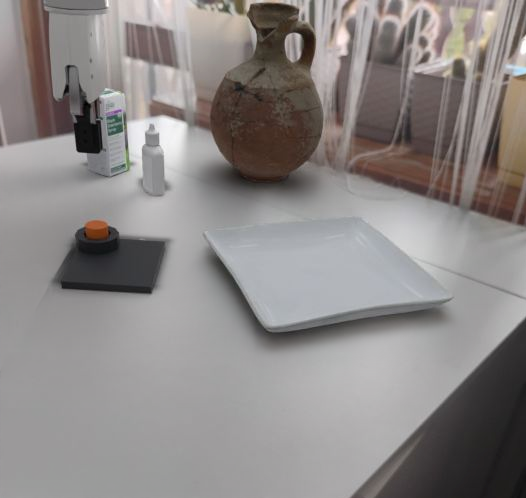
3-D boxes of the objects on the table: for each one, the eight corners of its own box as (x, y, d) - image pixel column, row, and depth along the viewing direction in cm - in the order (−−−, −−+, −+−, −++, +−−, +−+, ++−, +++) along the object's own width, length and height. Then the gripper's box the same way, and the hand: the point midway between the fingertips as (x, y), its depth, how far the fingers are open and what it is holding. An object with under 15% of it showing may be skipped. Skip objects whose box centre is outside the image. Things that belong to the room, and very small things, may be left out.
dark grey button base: (57, 288, 84) (54, 268, 82) (83, 241, 96) (81, 223, 94) (151, 294, 84) (150, 274, 83) (165, 246, 96) (165, 228, 95)
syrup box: (110, 177, 118) (104, 97, 110) (86, 170, 121) (79, 91, 112) (130, 170, 122) (126, 92, 114) (107, 163, 125) (101, 86, 116)
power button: (83, 239, 91) (82, 228, 90) (88, 230, 93) (87, 219, 92) (106, 241, 91) (105, 229, 90) (110, 231, 93) (109, 220, 92)
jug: (187, 167, 126) (187, -3, 109) (266, 150, 138) (277, -5, 121) (259, 202, 113) (272, 17, 96) (339, 180, 126) (363, 12, 109)
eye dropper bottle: (139, 195, 112) (136, 127, 105) (144, 184, 117) (142, 118, 110) (163, 197, 112) (162, 129, 105) (168, 186, 117) (166, 120, 110)
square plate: (199, 251, 96) (200, 227, 94) (357, 234, 105) (361, 212, 103) (263, 350, 76) (265, 323, 73) (451, 319, 85) (459, 294, 82)
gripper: (60, -13, 80) (75, 133, 91) (23, 2, 68) (46, 168, 79) (119, -8, 81) (127, 136, 91) (93, 7, 68) (106, 172, 79)
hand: (89, 150), depth 85 cm, fingers closed
